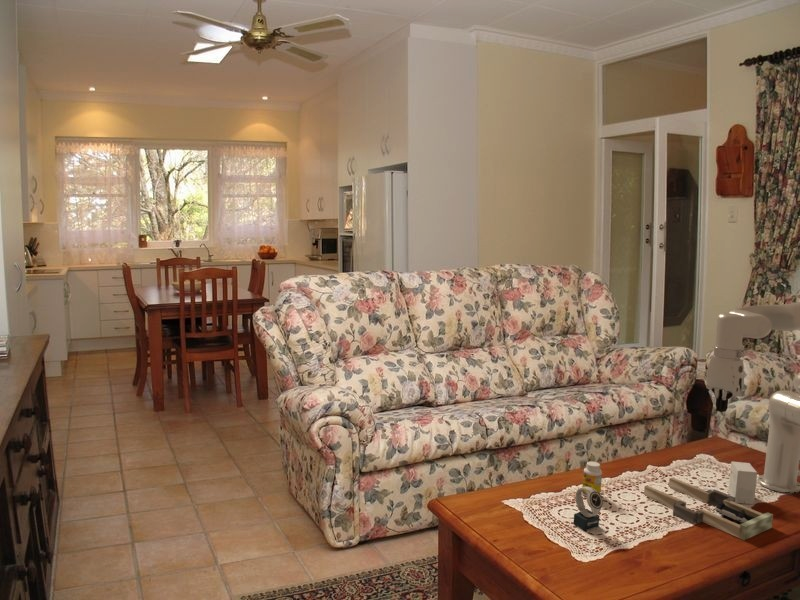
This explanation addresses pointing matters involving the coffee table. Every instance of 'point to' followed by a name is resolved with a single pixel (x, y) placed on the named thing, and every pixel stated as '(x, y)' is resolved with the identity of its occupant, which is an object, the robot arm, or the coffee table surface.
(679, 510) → the channel
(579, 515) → the watch
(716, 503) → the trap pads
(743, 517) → the gaming controller
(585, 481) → the supplement bottle
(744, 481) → the small box
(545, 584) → the coffee table surface
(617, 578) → the coffee table surface
